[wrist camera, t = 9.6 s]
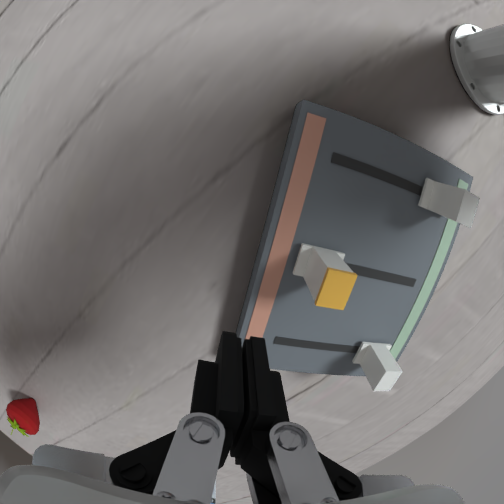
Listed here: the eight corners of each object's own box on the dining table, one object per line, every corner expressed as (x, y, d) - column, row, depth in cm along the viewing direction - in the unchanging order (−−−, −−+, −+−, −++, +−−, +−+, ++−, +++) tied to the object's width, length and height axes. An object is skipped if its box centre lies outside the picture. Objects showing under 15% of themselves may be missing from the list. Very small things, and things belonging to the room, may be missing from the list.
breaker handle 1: (390, 344, 29) (408, 371, 24) (379, 362, 29) (395, 390, 25) (362, 341, 28) (379, 371, 23) (352, 361, 29) (366, 391, 24)
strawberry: (42, 414, 38) (24, 449, 28) (15, 389, 35) (-6, 422, 26) (53, 410, 37) (34, 448, 27) (24, 383, 35) (1, 419, 25)
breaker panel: (456, 173, 25) (473, 177, 23) (379, 362, 34) (387, 376, 31) (296, 104, 23) (303, 99, 20) (232, 345, 31) (232, 363, 29)
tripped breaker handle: (343, 252, 24) (367, 277, 19) (333, 281, 25) (353, 311, 20) (301, 242, 24) (317, 267, 19) (292, 273, 25) (304, 303, 20)
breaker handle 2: (452, 191, 23) (485, 201, 18) (445, 217, 24) (476, 231, 19) (425, 177, 22) (458, 185, 18) (417, 205, 23) (449, 218, 19)
